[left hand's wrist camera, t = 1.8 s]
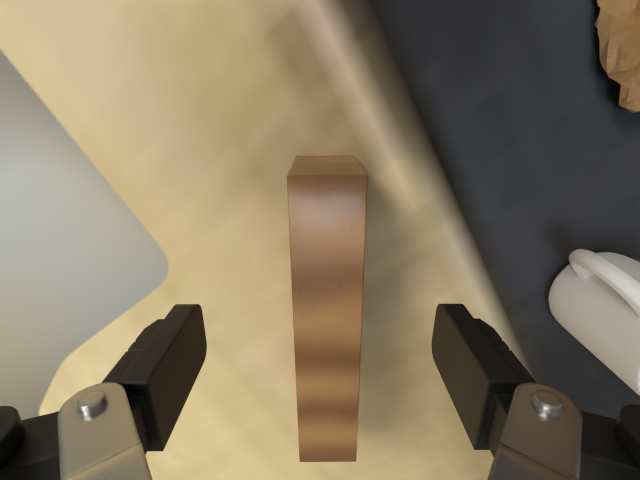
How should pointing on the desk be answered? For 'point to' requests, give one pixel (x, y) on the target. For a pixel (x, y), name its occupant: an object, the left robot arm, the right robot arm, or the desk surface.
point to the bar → (327, 301)
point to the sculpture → (621, 47)
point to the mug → (602, 309)
